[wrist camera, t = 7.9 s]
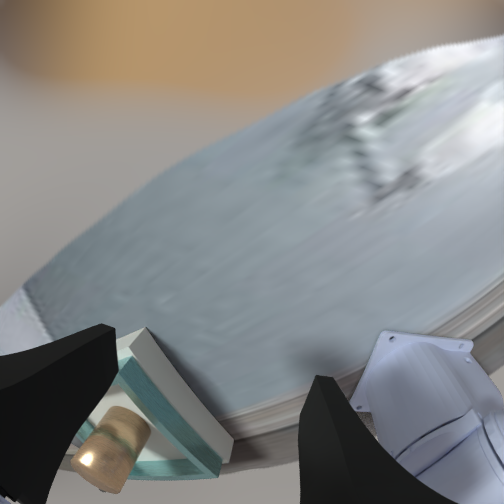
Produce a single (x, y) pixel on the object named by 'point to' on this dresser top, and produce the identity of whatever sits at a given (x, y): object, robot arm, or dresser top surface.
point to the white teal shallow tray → (173, 390)
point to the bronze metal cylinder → (112, 449)
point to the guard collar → (162, 431)
